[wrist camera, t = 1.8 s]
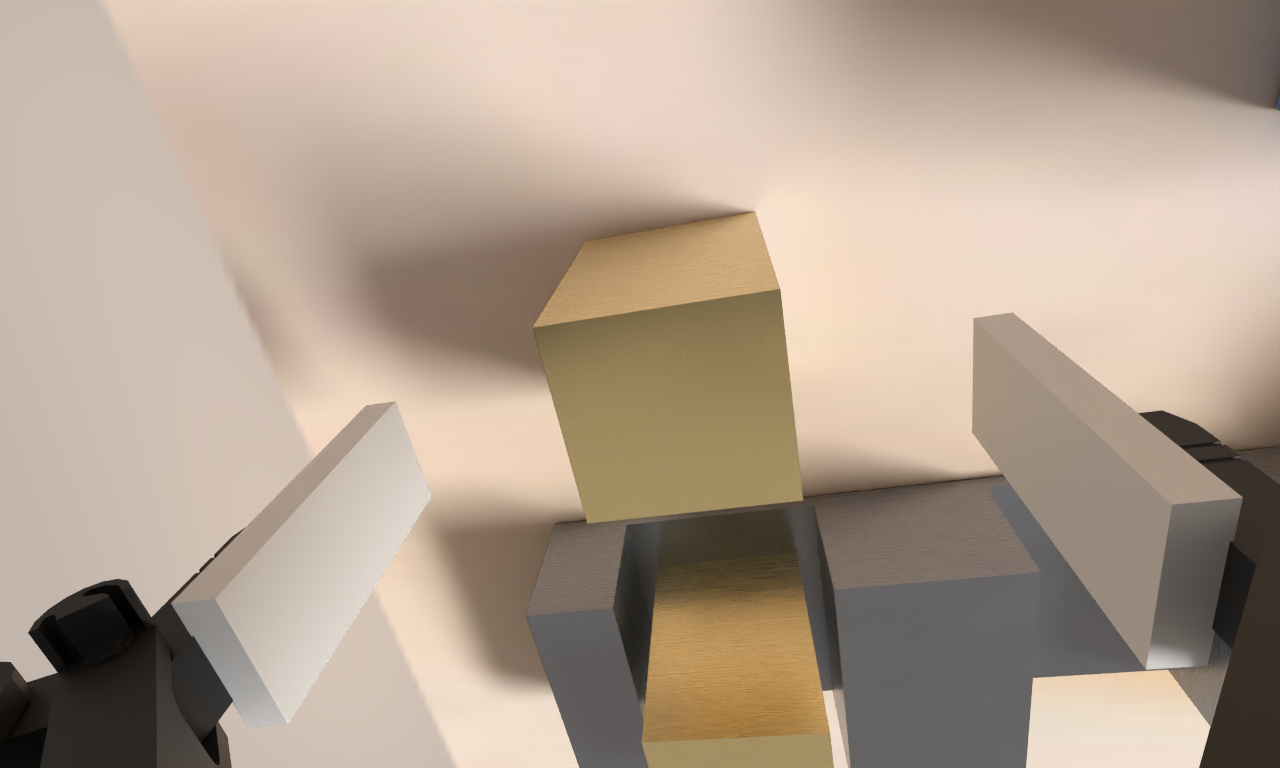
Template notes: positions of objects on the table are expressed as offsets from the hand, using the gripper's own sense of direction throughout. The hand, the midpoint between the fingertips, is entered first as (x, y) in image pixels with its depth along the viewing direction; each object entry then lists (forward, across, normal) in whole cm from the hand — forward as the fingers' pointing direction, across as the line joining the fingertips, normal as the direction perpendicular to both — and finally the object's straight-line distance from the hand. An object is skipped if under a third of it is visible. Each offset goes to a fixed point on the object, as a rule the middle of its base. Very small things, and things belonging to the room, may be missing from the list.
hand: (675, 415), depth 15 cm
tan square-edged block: (+6, 0, 0) cm, 6 cm away
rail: (+6, +6, -12) cm, 14 cm away
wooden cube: (+6, 0, -12) cm, 13 cm away
